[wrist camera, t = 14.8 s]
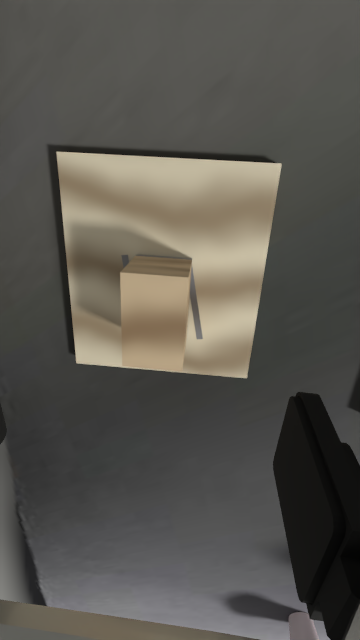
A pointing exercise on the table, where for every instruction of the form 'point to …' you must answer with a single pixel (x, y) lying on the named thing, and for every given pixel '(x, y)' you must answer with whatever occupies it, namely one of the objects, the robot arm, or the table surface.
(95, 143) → the table surface
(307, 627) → the smoothie
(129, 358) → the block
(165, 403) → the table surface
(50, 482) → the table surface
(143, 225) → the board
